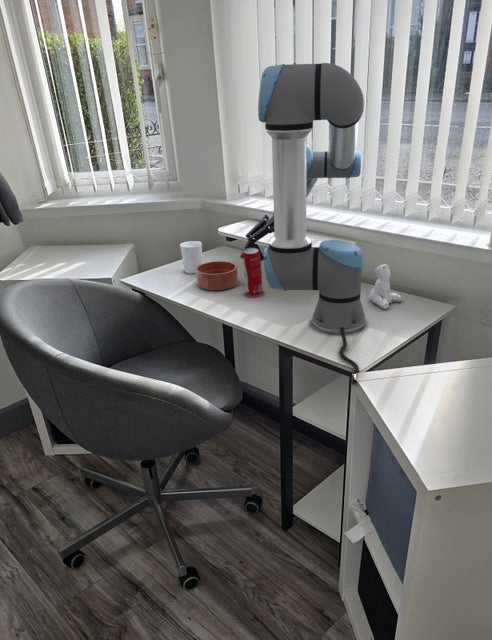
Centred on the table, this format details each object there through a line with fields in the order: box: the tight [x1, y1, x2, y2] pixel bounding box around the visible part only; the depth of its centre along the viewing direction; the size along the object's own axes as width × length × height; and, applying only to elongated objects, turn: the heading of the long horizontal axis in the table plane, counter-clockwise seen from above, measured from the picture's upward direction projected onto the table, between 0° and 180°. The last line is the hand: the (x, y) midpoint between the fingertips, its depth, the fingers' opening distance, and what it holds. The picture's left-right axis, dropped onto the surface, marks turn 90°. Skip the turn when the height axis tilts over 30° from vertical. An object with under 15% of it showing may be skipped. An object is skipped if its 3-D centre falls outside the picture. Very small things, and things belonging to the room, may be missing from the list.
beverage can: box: [241, 247, 264, 298], centre depth 175 cm, size 6×6×15 cm
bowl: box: [195, 260, 239, 292], centre depth 187 cm, size 14×14×6 cm
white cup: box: [179, 240, 204, 274], centre depth 199 cm, size 8×8×10 cm
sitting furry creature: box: [369, 263, 402, 310], centre depth 167 cm, size 10×9×12 cm
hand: (257, 263), depth 175 cm, fingers open, 13 cm apart
